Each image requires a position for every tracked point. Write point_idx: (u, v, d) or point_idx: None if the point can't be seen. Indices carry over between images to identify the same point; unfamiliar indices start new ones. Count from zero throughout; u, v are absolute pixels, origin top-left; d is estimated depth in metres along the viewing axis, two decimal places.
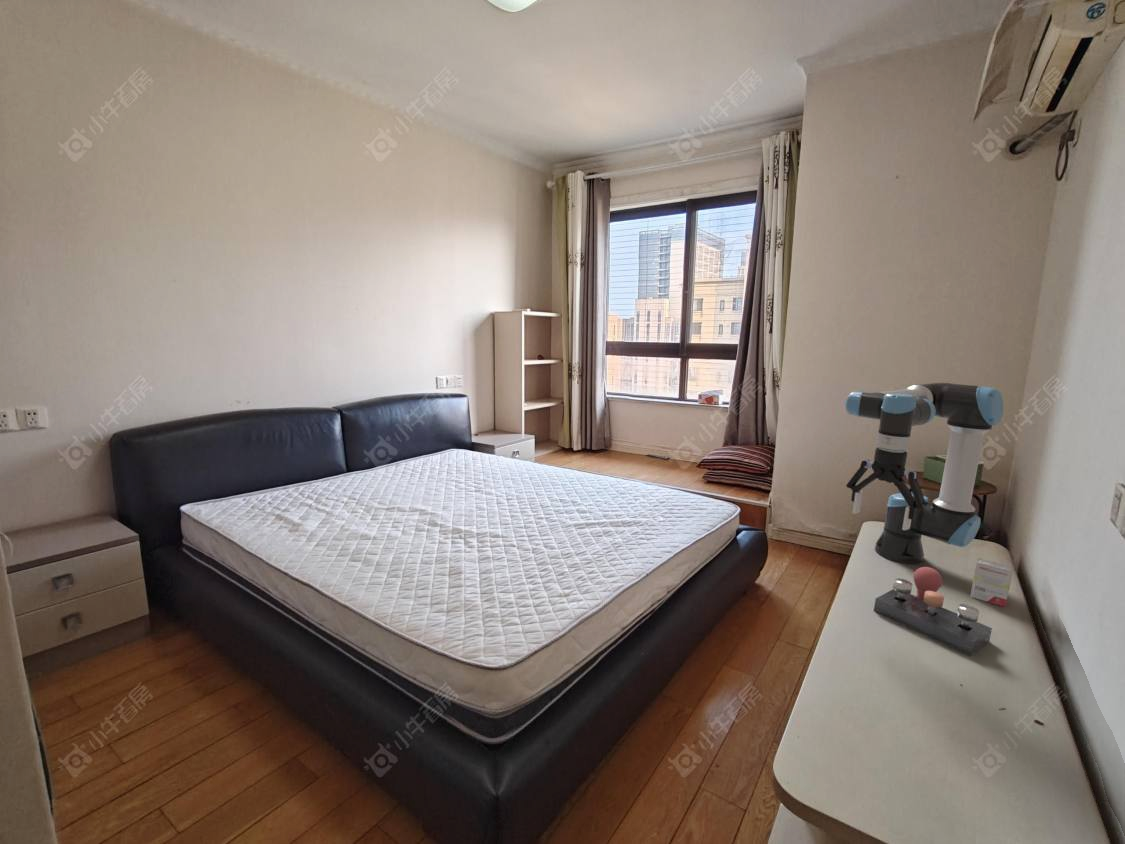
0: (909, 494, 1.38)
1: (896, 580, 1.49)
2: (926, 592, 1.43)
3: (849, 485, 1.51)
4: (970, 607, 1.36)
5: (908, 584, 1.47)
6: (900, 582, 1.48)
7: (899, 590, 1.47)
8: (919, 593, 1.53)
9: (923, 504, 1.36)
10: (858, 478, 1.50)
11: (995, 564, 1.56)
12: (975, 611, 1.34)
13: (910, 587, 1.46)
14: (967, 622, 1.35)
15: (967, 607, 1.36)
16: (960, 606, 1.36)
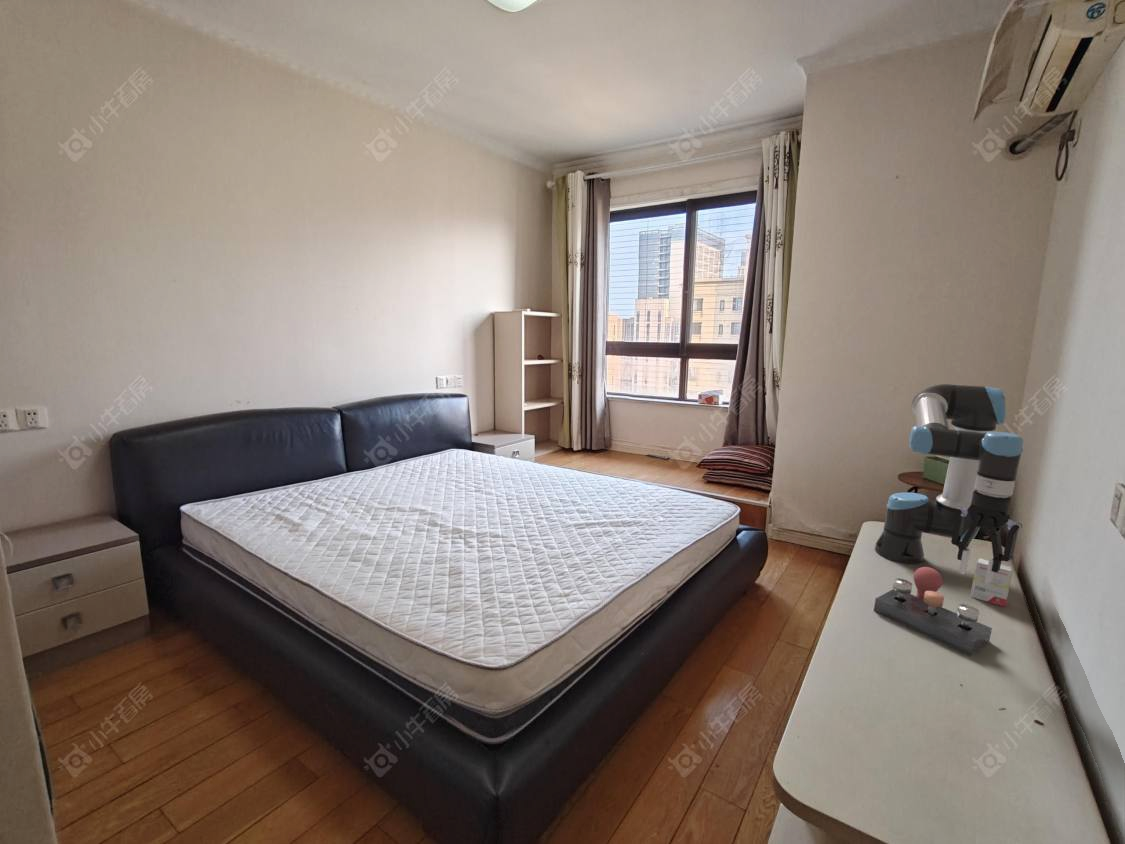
0: (999, 546, 1.28)
1: (896, 580, 1.49)
2: (926, 592, 1.43)
3: (954, 541, 1.35)
4: (970, 607, 1.36)
5: (908, 584, 1.47)
6: (900, 582, 1.48)
7: (899, 590, 1.47)
8: (919, 593, 1.53)
9: None
10: (961, 531, 1.35)
11: None
12: (975, 611, 1.34)
13: (910, 587, 1.46)
14: (967, 622, 1.35)
15: (967, 607, 1.36)
16: (960, 606, 1.36)
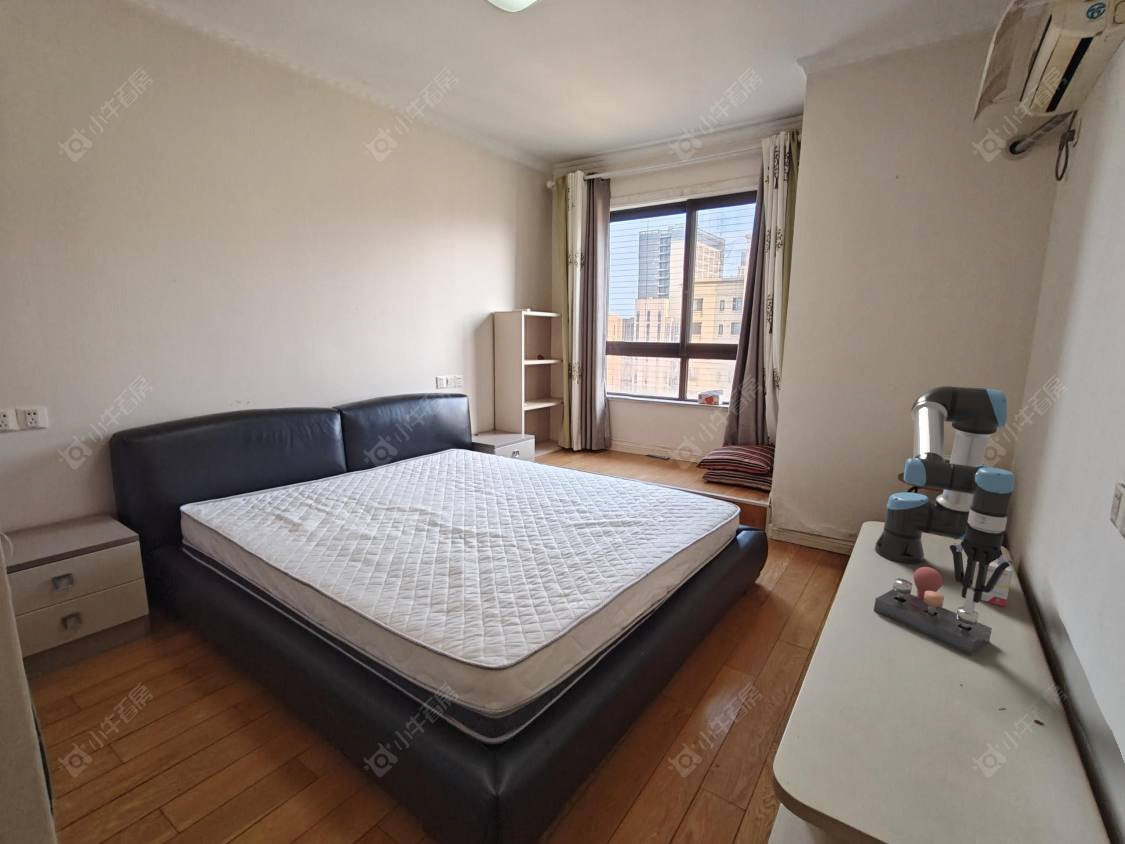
0: (984, 578, 1.32)
1: (896, 580, 1.49)
2: (926, 592, 1.43)
3: (958, 578, 1.35)
4: None
5: (908, 584, 1.47)
6: (900, 582, 1.48)
7: (899, 590, 1.47)
8: (919, 593, 1.53)
9: None
10: (962, 567, 1.36)
11: (995, 564, 1.56)
12: (974, 614, 1.34)
13: (910, 587, 1.46)
14: (967, 625, 1.35)
15: None
16: (959, 609, 1.36)
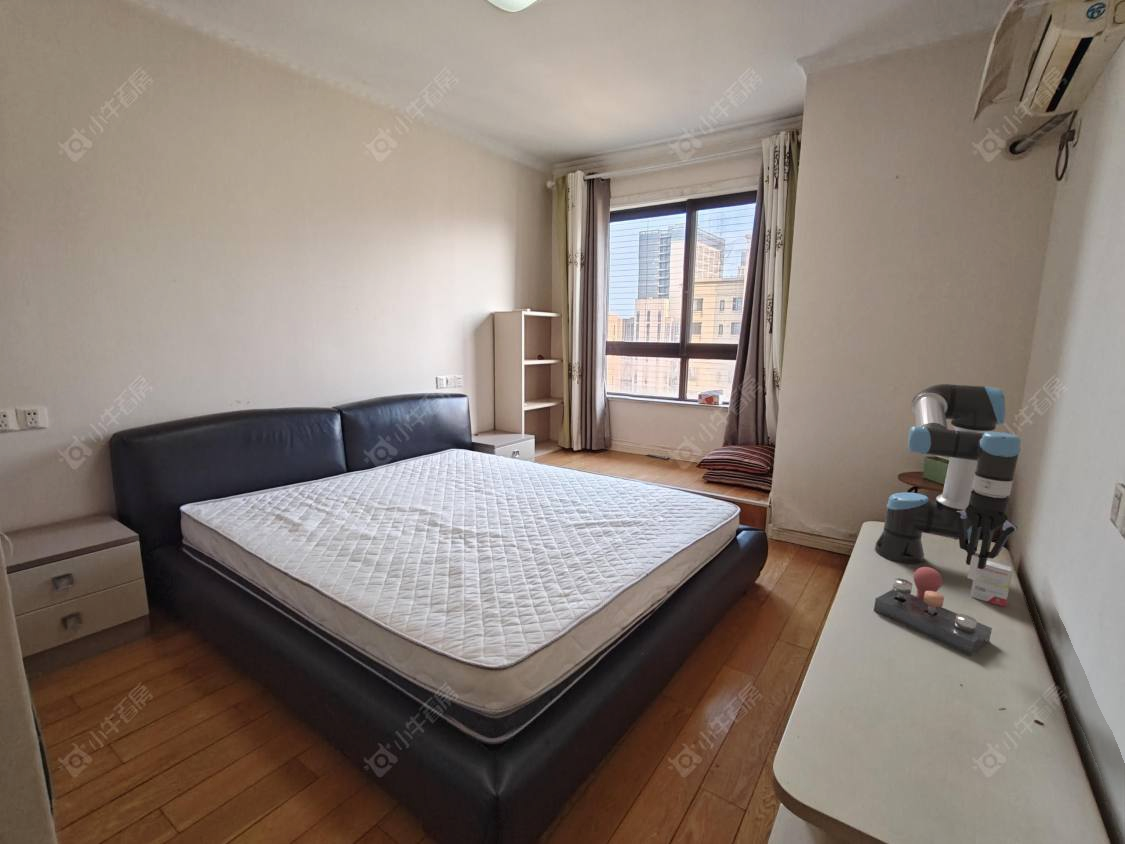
0: (989, 544, 1.30)
1: (896, 580, 1.49)
2: (926, 592, 1.43)
3: (963, 545, 1.34)
4: (968, 617, 1.36)
5: (908, 584, 1.47)
6: (900, 582, 1.48)
7: (899, 590, 1.47)
8: (919, 593, 1.53)
9: None
10: (966, 534, 1.34)
11: (995, 564, 1.56)
12: (973, 621, 1.34)
13: (910, 587, 1.46)
14: None
15: (965, 617, 1.36)
16: (958, 616, 1.37)
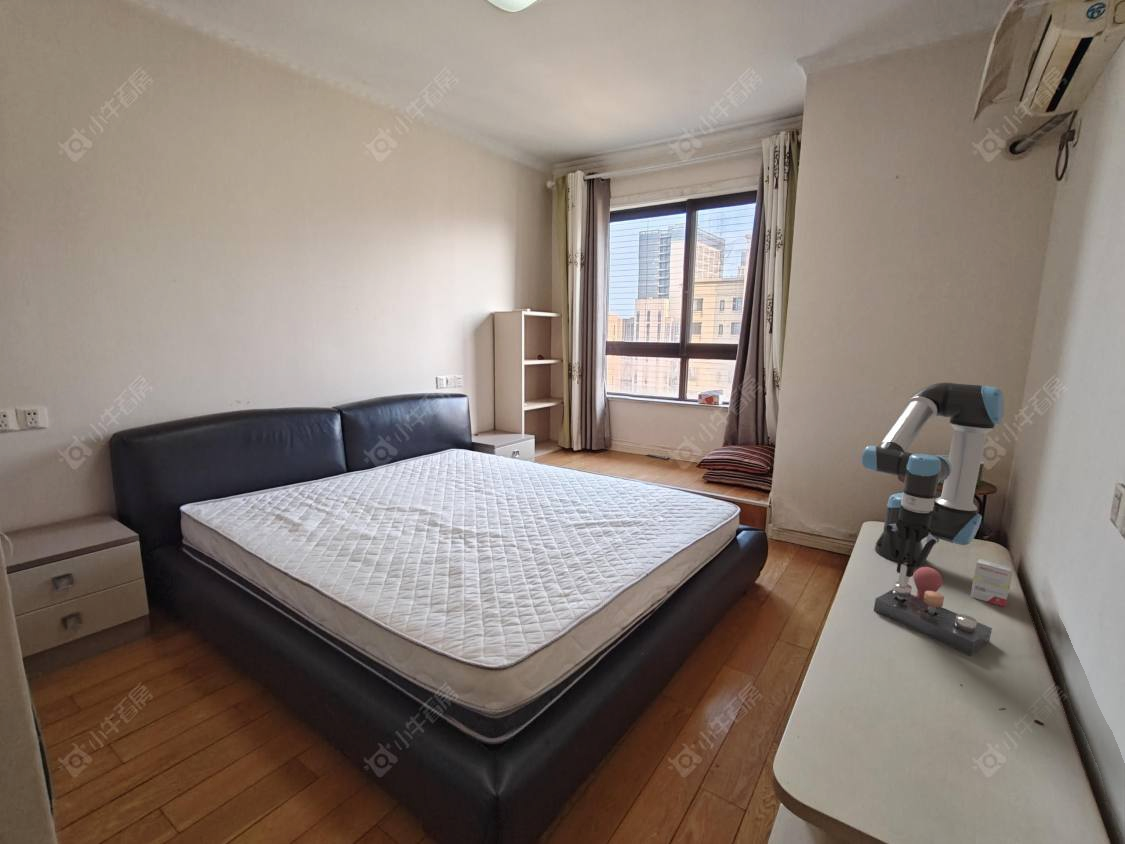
0: (915, 555, 1.45)
1: (895, 583, 1.49)
2: (926, 592, 1.43)
3: (894, 555, 1.49)
4: (968, 617, 1.36)
5: (907, 587, 1.47)
6: (899, 586, 1.48)
7: (898, 593, 1.48)
8: (919, 593, 1.53)
9: None
10: (897, 545, 1.49)
11: (995, 564, 1.56)
12: (973, 621, 1.34)
13: (909, 590, 1.47)
14: None
15: (965, 617, 1.36)
16: (958, 616, 1.37)
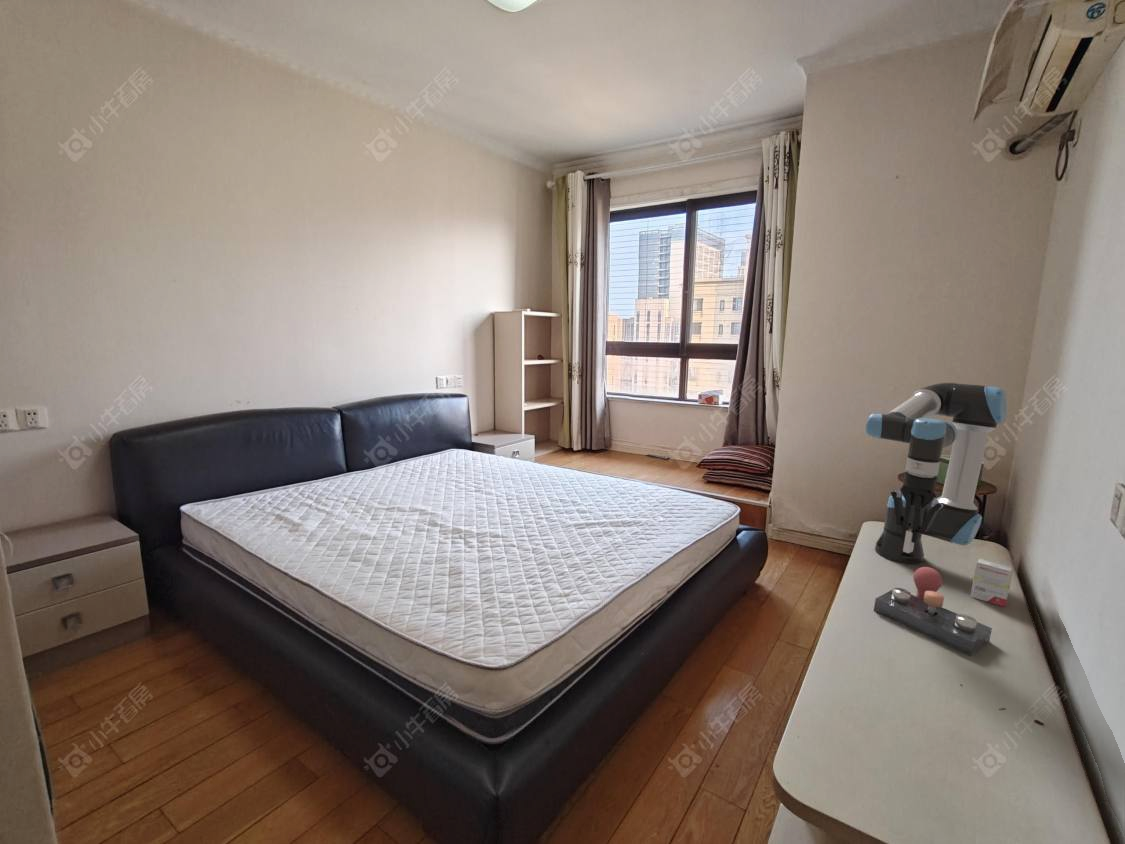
0: (921, 520, 1.44)
1: (894, 589, 1.50)
2: (926, 592, 1.43)
3: (899, 522, 1.47)
4: (968, 617, 1.36)
5: (906, 593, 1.48)
6: (898, 592, 1.49)
7: (897, 599, 1.48)
8: (919, 593, 1.53)
9: None
10: (902, 511, 1.48)
11: (995, 564, 1.56)
12: (973, 621, 1.34)
13: (908, 596, 1.47)
14: None
15: (965, 617, 1.36)
16: (958, 616, 1.37)
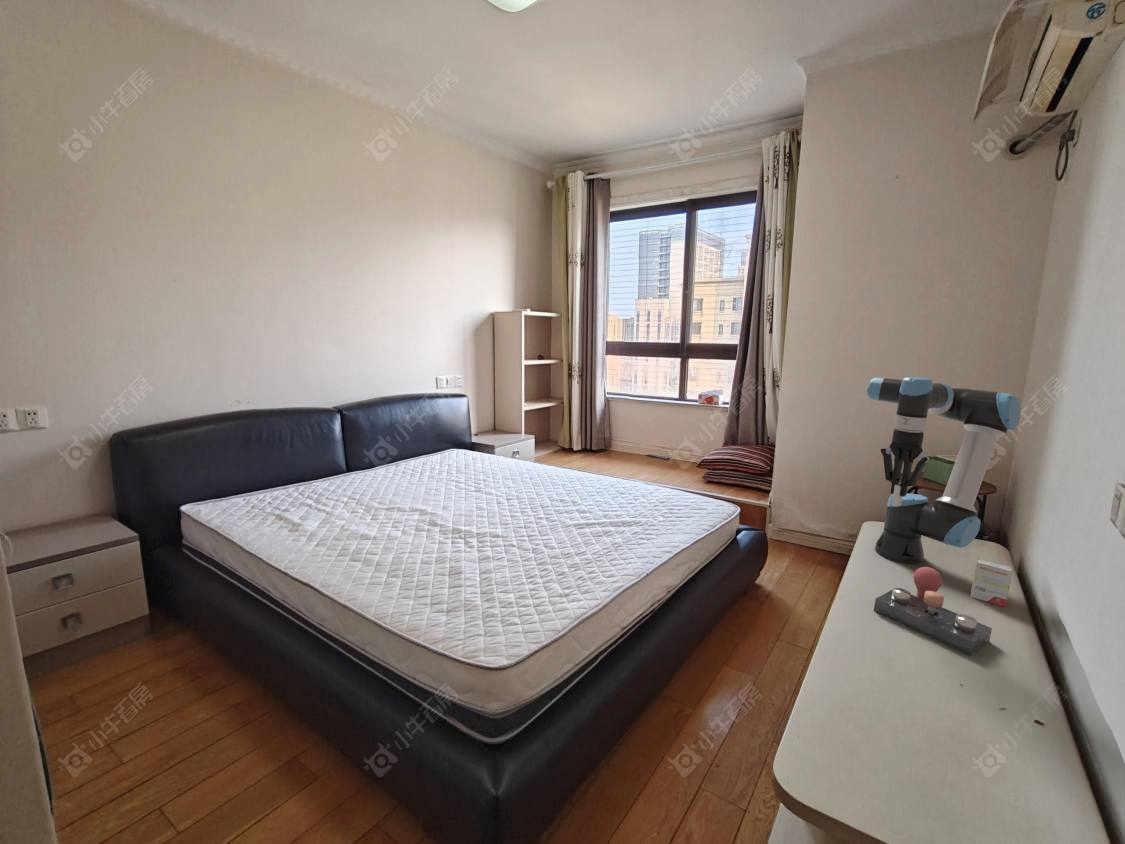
0: (908, 475, 1.51)
1: (894, 589, 1.50)
2: (926, 592, 1.43)
3: (888, 477, 1.55)
4: (968, 617, 1.36)
5: (906, 593, 1.48)
6: (898, 592, 1.49)
7: (897, 599, 1.48)
8: (919, 593, 1.53)
9: None
10: (891, 467, 1.55)
11: (995, 564, 1.56)
12: (973, 621, 1.34)
13: (908, 596, 1.47)
14: None
15: (965, 617, 1.36)
16: (958, 616, 1.37)
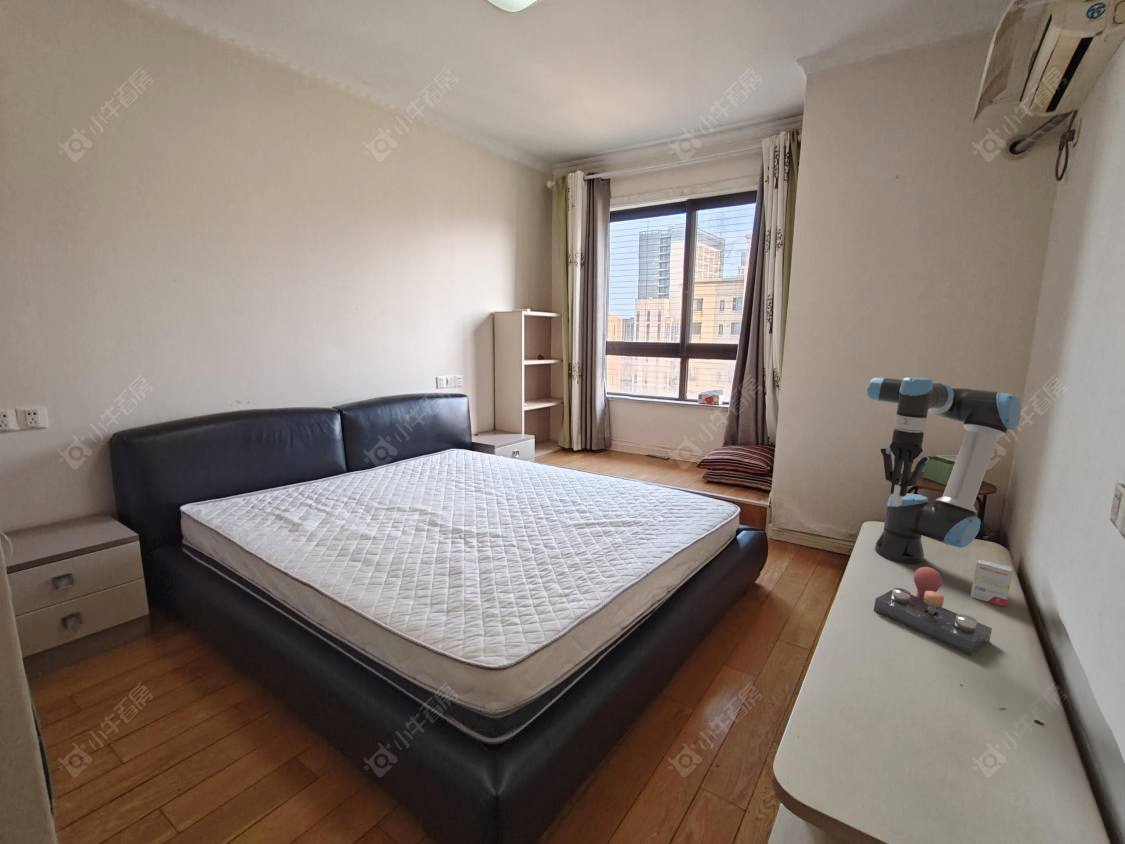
0: (908, 475, 1.51)
1: (894, 589, 1.50)
2: (926, 592, 1.43)
3: (888, 477, 1.55)
4: (968, 617, 1.36)
5: (906, 593, 1.48)
6: (898, 592, 1.49)
7: (897, 599, 1.48)
8: (919, 593, 1.53)
9: None
10: (891, 467, 1.55)
11: (995, 564, 1.56)
12: (973, 621, 1.34)
13: (908, 596, 1.47)
14: None
15: (965, 617, 1.36)
16: (958, 616, 1.37)
